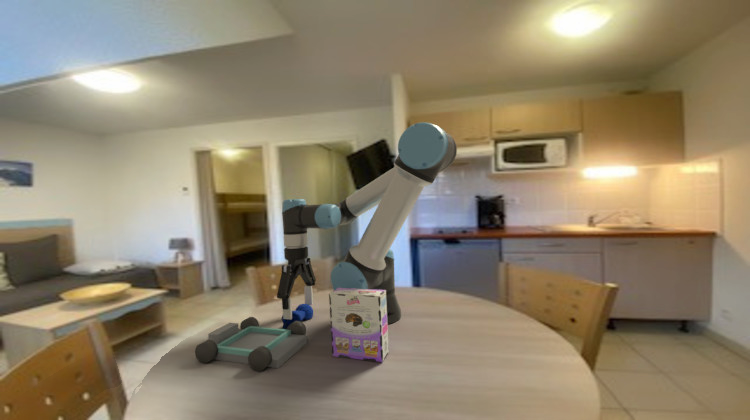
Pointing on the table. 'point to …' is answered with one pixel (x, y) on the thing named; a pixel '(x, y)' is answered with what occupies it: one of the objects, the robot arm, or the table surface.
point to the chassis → (252, 344)
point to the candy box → (359, 323)
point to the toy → (299, 315)
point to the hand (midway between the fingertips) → (299, 311)
